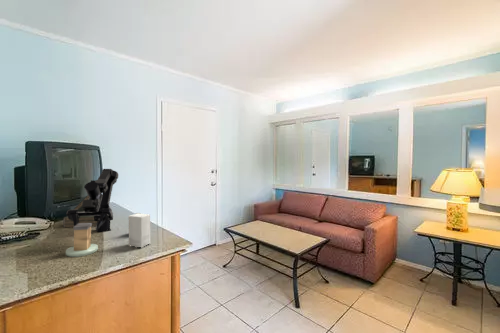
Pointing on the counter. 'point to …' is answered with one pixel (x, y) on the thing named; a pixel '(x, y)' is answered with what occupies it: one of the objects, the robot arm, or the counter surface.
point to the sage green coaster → (81, 251)
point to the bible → (82, 219)
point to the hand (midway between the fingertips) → (86, 229)
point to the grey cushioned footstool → (82, 236)
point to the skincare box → (139, 230)
